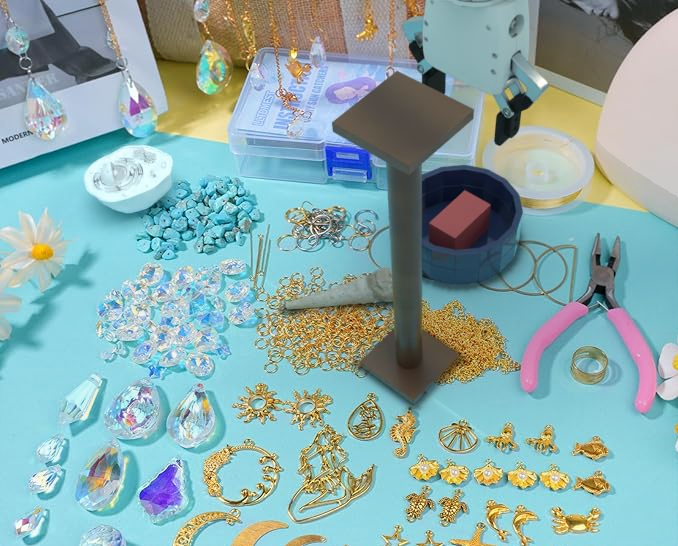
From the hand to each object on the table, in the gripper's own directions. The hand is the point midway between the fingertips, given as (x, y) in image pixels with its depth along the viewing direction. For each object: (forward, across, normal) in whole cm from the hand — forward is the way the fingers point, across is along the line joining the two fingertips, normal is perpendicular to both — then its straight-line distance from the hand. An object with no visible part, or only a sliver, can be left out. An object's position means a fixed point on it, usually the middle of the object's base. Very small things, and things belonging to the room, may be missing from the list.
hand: (468, 118), depth 88 cm
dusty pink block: (+20, 0, 0) cm, 20 cm away
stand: (+20, -7, +18) cm, 28 cm away
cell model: (+20, +39, +22) cm, 49 cm away
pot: (+20, 0, 0) cm, 20 cm away
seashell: (+20, +4, +16) cm, 26 cm away
